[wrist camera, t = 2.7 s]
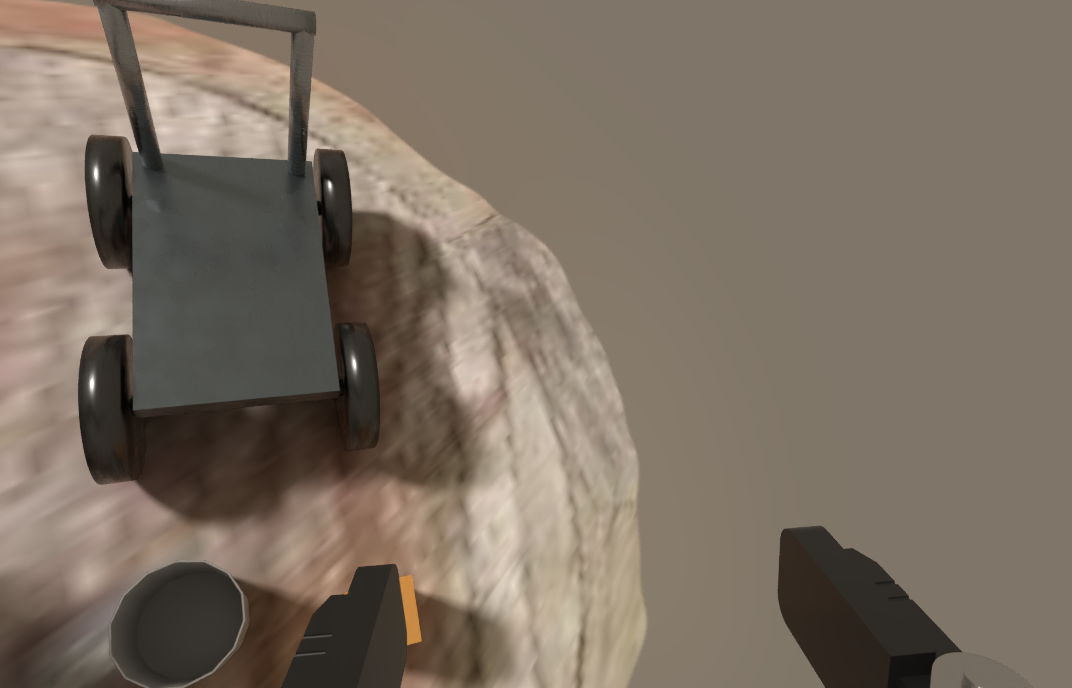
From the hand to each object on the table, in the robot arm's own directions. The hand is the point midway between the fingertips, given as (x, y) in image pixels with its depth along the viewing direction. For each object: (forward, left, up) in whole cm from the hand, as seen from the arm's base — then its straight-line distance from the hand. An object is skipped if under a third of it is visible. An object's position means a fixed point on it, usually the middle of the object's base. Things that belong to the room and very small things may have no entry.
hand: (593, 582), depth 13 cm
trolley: (+16, +26, -51) cm, 59 cm away
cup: (-7, +10, -51) cm, 52 cm away
